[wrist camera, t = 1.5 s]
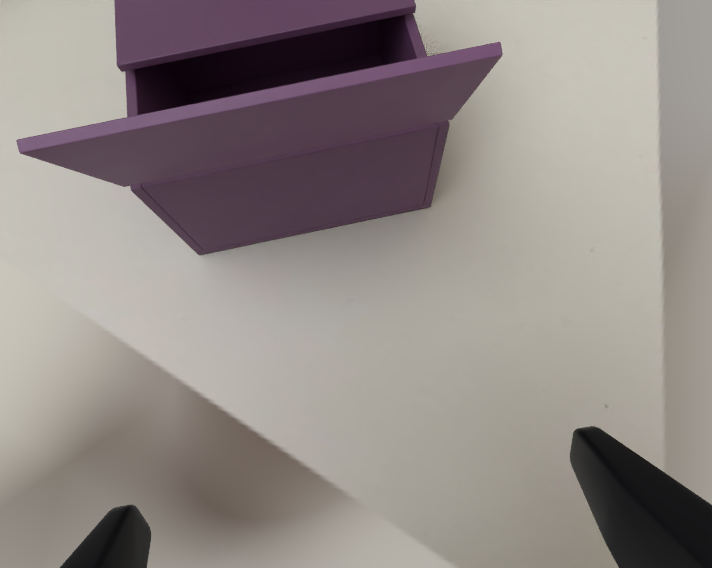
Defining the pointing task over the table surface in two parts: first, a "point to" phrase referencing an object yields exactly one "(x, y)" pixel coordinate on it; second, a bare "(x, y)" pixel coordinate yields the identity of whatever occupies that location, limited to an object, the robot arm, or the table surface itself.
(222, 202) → the box
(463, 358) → the table surface
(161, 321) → the table surface
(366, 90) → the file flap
